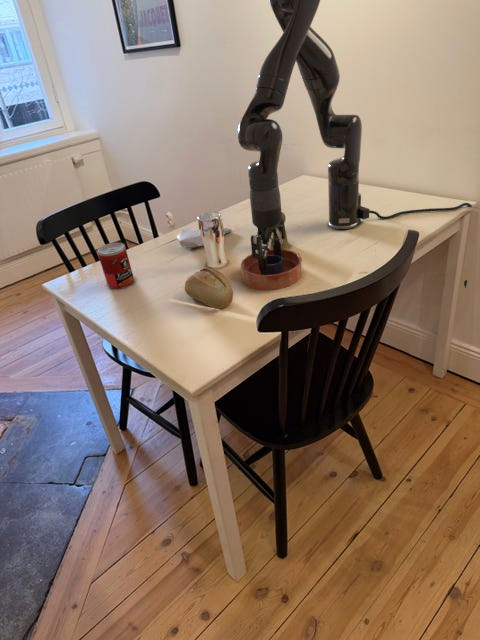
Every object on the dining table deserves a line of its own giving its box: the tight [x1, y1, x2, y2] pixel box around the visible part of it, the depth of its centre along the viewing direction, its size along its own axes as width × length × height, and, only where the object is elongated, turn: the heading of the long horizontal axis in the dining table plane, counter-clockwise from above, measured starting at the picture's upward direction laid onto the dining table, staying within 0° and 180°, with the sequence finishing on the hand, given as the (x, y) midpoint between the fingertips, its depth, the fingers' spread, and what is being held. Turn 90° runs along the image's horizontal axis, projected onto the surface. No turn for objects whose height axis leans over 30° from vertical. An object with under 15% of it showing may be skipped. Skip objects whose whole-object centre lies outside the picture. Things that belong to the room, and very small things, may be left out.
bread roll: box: [184, 267, 234, 310], centre depth 118 cm, size 10×15×8 cm, turn 46°
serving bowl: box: [240, 248, 304, 291], centre depth 126 cm, size 16×16×5 cm
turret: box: [176, 227, 232, 249], centre depth 153 cm, size 10×20×5 cm, turn 136°
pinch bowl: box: [260, 255, 284, 275], centre depth 125 cm, size 6×6×5 cm
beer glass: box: [197, 211, 228, 269], centre depth 134 cm, size 7×7×15 cm
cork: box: [270, 211, 289, 249], centre depth 140 cm, size 6×6×11 cm
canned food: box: [97, 242, 135, 290], centre depth 132 cm, size 8×8×11 cm
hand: (271, 263), depth 125 cm, fingers open, 8 cm apart
